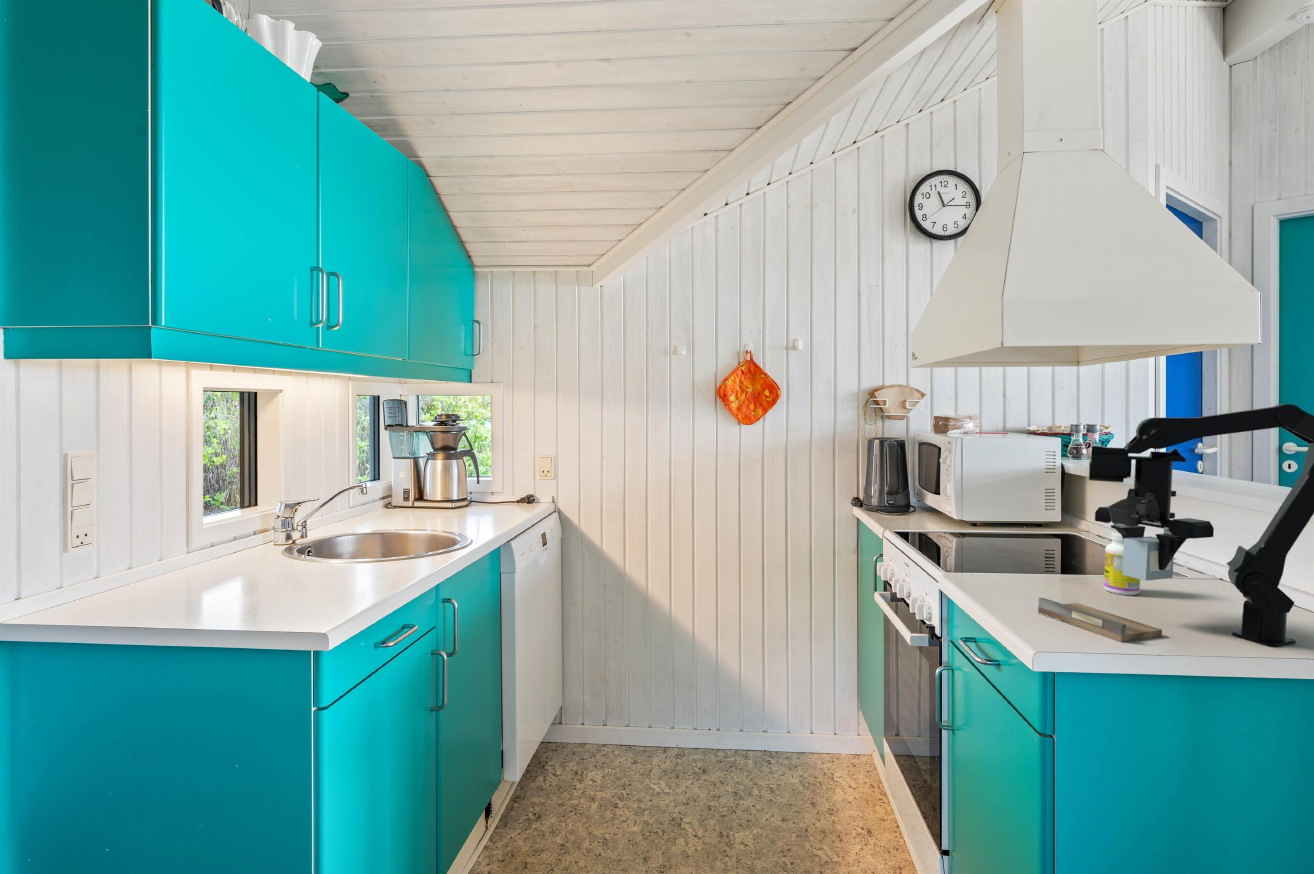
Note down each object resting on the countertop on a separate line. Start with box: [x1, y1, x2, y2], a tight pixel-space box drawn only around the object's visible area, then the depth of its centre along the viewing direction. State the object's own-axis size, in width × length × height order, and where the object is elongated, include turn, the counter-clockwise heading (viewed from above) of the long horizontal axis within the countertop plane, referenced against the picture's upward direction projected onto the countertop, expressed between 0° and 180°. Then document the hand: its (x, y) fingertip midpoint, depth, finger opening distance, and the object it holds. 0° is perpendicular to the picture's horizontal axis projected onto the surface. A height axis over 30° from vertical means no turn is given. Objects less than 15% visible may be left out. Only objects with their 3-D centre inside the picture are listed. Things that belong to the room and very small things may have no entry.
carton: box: [1122, 535, 1175, 582], centre depth 130 cm, size 5×7×7 cm
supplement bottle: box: [1103, 531, 1141, 596], centre depth 152 cm, size 7×7×13 cm
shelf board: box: [1037, 597, 1163, 643], centre depth 129 cm, size 10×17×3 cm, turn 19°
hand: (1148, 566), depth 130 cm, fingers closed on carton, 5 cm apart
